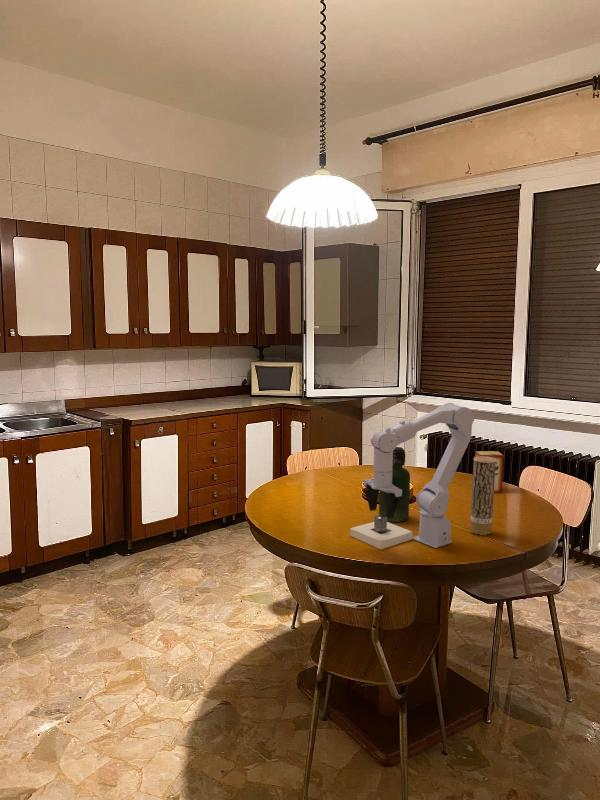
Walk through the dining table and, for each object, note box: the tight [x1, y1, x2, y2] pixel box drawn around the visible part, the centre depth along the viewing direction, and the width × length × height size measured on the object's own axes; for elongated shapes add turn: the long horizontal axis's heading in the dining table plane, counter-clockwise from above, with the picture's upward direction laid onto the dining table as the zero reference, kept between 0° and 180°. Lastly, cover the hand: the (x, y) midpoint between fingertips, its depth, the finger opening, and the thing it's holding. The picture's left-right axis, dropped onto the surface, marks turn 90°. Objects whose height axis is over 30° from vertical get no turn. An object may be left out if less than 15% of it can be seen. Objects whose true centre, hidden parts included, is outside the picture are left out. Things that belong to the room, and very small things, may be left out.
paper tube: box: [469, 456, 496, 536], centre depth 197 cm, size 7×7×25 cm
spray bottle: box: [378, 446, 411, 523], centre depth 211 cm, size 10×10×25 cm
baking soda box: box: [474, 450, 505, 494], centre depth 245 cm, size 10×6×16 cm
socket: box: [349, 521, 414, 550], centre depth 194 cm, size 14×14×2 cm
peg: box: [373, 514, 388, 534], centre depth 193 cm, size 4×4×7 cm
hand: (381, 513), depth 185 cm, fingers open, 7 cm apart
